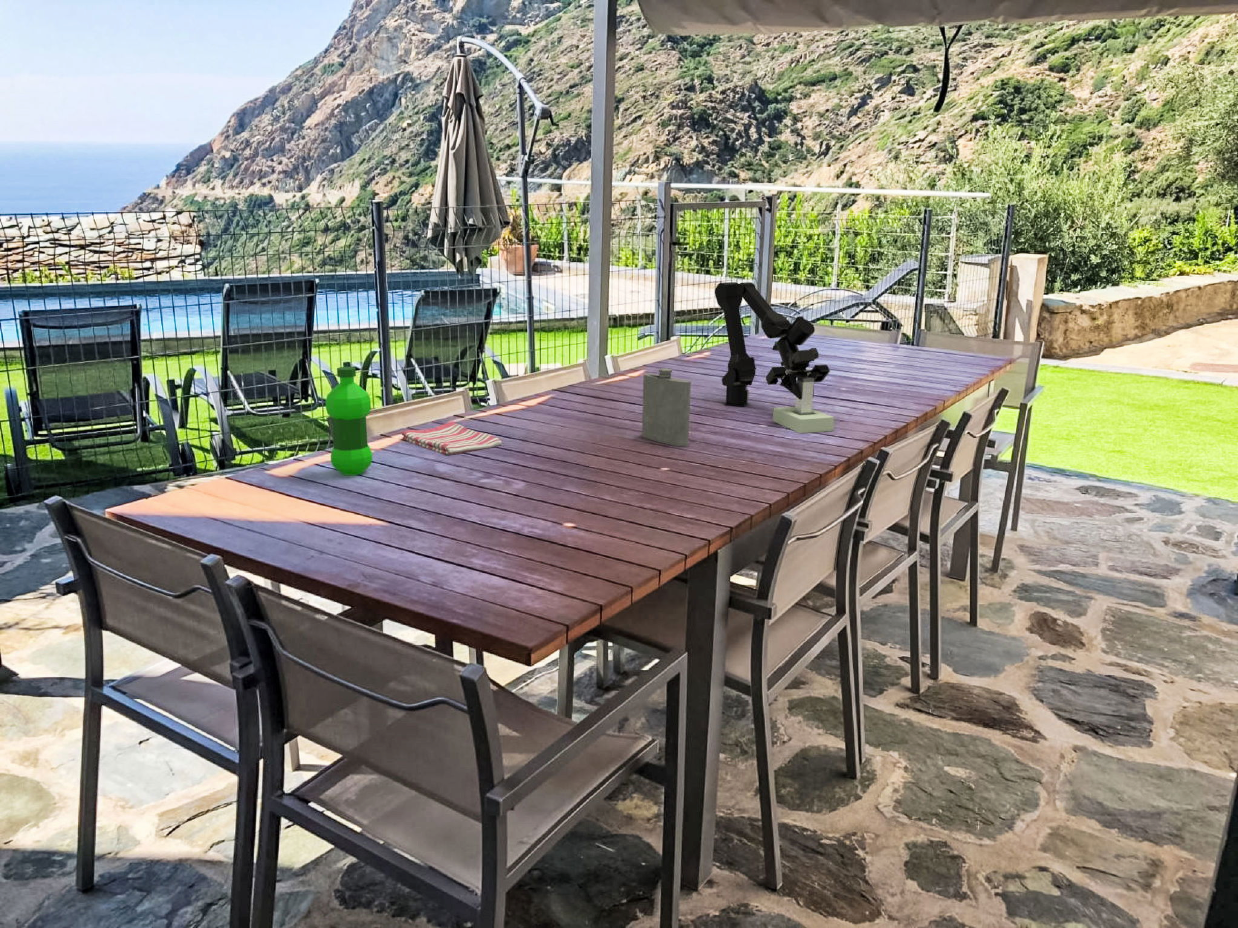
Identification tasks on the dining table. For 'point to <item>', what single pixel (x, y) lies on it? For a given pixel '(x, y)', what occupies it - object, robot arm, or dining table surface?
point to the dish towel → (451, 439)
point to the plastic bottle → (349, 424)
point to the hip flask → (666, 408)
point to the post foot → (803, 420)
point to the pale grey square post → (805, 395)
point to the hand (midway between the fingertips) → (806, 398)
